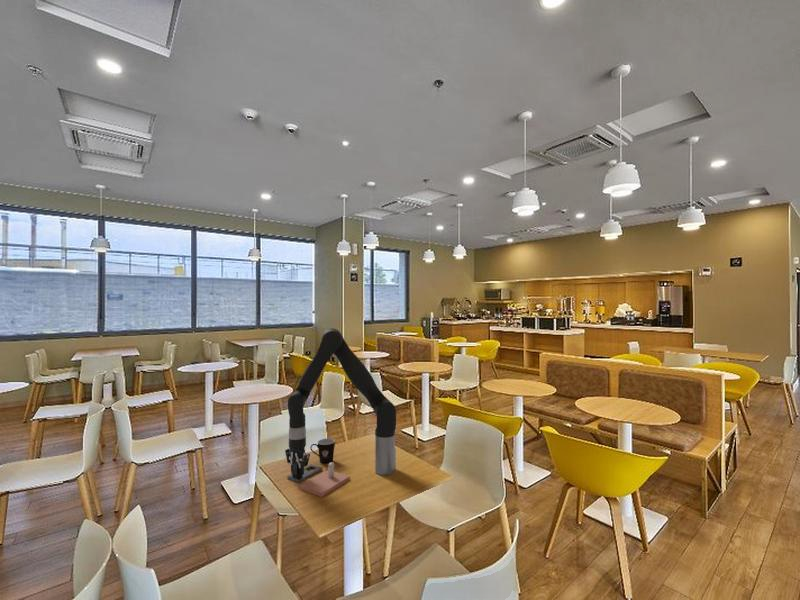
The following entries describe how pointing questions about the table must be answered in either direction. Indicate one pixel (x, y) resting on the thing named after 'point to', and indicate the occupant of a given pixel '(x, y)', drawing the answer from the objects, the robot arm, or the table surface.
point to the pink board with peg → (324, 482)
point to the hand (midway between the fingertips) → (297, 474)
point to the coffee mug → (325, 450)
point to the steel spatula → (307, 474)
